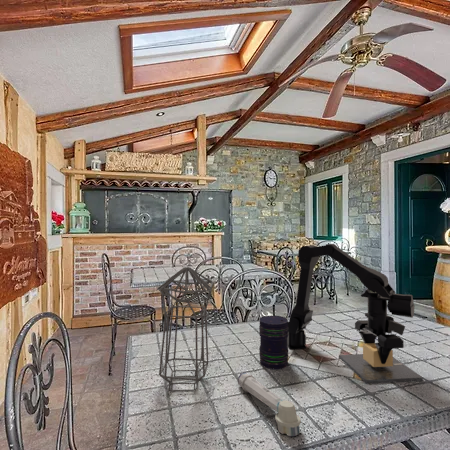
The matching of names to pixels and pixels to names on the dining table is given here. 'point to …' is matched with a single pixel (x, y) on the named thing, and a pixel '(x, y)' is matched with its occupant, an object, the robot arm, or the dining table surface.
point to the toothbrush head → (273, 405)
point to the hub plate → (379, 370)
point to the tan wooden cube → (375, 356)
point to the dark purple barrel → (273, 342)
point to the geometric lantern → (209, 289)
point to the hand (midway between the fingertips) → (377, 359)
